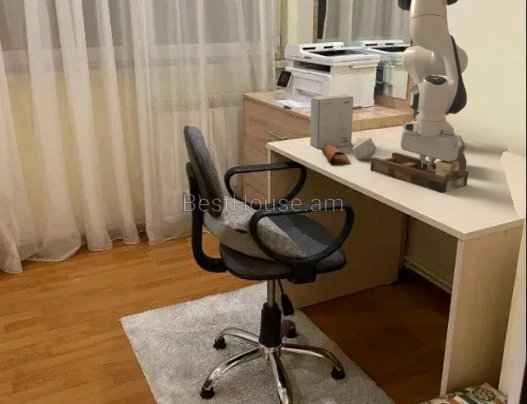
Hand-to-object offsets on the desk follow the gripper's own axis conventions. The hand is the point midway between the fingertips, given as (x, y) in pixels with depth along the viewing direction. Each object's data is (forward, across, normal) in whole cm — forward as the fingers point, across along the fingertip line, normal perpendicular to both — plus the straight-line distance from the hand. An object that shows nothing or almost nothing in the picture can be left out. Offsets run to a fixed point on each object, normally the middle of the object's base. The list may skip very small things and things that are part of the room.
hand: (426, 168), depth 191 cm
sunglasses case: (+5, +37, +5) cm, 37 cm away
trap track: (+4, +3, 0) cm, 5 cm away
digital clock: (+4, +2, -19) cm, 19 cm away
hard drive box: (+4, +52, -7) cm, 53 cm away
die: (+4, +30, -3) cm, 31 cm away
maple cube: (+1, -8, +1) cm, 8 cm away
